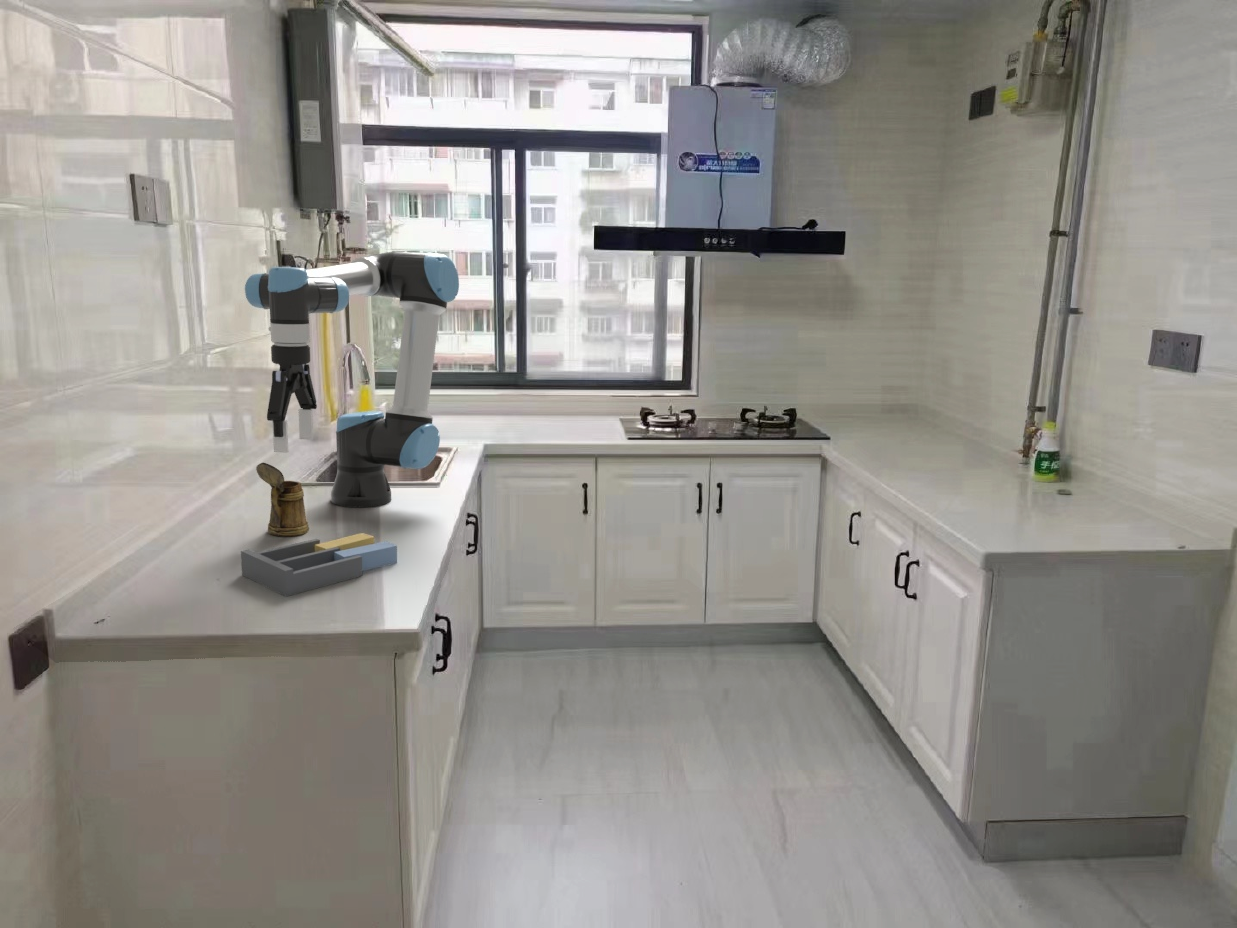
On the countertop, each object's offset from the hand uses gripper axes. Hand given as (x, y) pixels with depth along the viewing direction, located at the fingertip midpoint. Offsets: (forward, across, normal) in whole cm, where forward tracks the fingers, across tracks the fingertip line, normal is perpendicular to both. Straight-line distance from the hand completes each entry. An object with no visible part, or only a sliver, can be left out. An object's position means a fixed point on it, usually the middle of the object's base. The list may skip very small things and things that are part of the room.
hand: (294, 445), depth 189 cm
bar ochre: (+23, +4, +12) cm, 26 cm away
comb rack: (+23, +16, +7) cm, 29 cm away
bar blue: (+23, +8, +18) cm, 30 cm away
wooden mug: (+23, -10, -7) cm, 26 cm away
